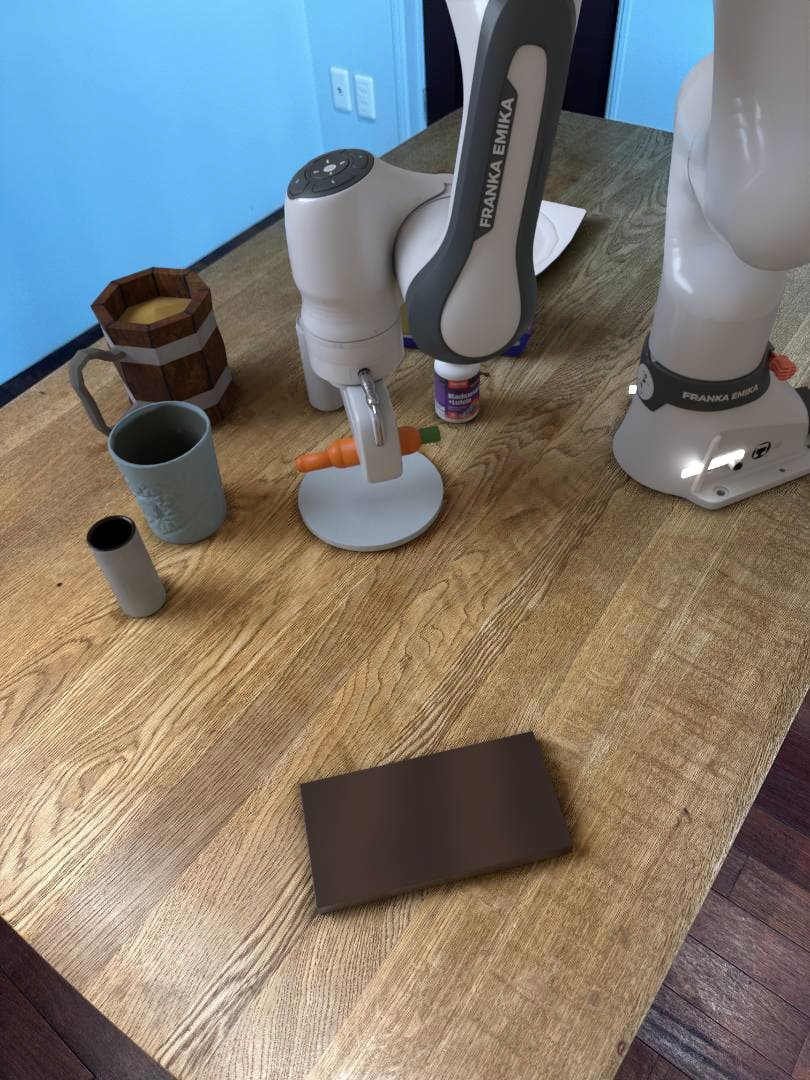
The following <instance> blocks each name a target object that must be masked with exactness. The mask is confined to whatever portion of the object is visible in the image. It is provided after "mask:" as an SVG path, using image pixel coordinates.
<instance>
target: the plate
mask: <svg viewBox="0 0 810 1080" xmlns="http://www.w3.org/2000/svg"><path fill="white" fill-rule="evenodd" d="M586 215H587V210H586V208H585V209H584V208H580V207H575V206H570V205H568V204H567V205H566V204H561V203H558V202H553V201H548V200H543V199H542V202H541V207H540V212H539V216H538V221H537V226H536V231H535V237H534V245H533V263H534V271H535V277H536V278H537V277H539V276H541V275H542V274H544V272H545V271H547V269H549V268H550V267H551V265H553V264H554V263H555V262H556V261H557V260H558V259H559V258H560V256H562V254H563V253H564V252H565V251H566V249H567V248H568V247H569V246H570V244H571V243H572V242H573V240H574V237H576V234H577V232H578V230H579V229H580V226H581V225H582V223H583V221H584V219H585V217H586Z"/></svg>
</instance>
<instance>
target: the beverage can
mask: <svg viewBox="0 0 810 1080" xmlns="http://www.w3.org/2000/svg"><path fill="white" fill-rule="evenodd" d="M295 329H296V335H297V336H296V337H297V340H298V341H297V342H298V346H299V352H300V357H301V363H302V367H303V368H302V369H303V374H304V380H305V385H306V390H307V396H308V401H309V403H310V405H311V406H312V407H313V408H315V409H317V410H318V411H321V412H325V413H330V412H334V411H337V410H340V409H341V408H342V407H344V403H343V399H342V395H341V392H340V389H339V388H337V387H335V386H333V385H332V384H331V383H330V382H329V381H327V380H325V379H323V378H321V377H320V376H318V375H317V374H316V373H315V372H314V370H313V369H312V367H311V364H310V360H309V355H308V350H307V345H306V340H305V335H304V330H303V324H302V319H301V312H300V313H299V314H298V315H297V316H296V319H295Z"/></svg>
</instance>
